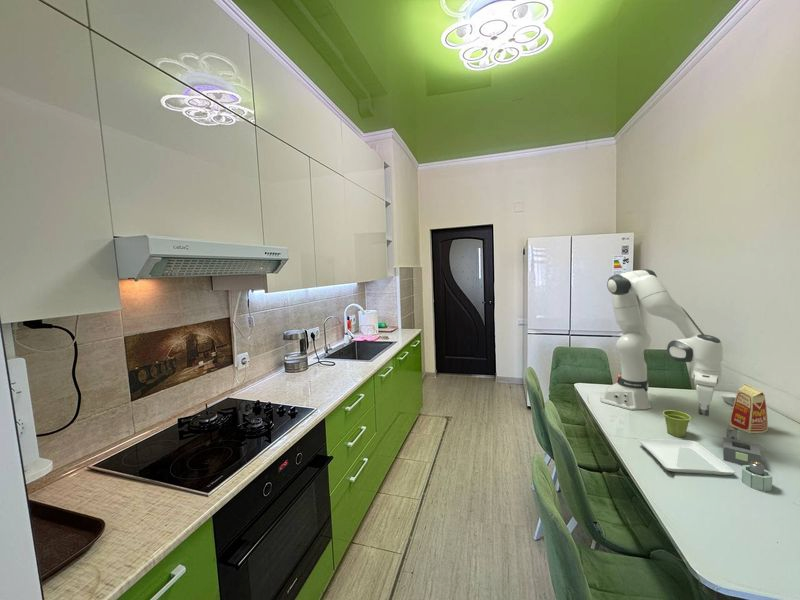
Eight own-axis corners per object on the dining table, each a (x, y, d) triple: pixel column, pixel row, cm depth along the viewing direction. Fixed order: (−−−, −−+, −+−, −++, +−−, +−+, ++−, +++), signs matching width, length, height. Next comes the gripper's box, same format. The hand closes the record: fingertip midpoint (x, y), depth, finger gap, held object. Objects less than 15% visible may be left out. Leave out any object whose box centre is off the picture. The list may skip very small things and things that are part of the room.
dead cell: (749, 484, 107) (750, 463, 106) (748, 479, 109) (749, 458, 109) (764, 488, 105) (764, 466, 104) (763, 483, 107) (763, 462, 106)
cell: (698, 414, 134) (699, 397, 133) (698, 411, 136) (699, 394, 135) (708, 417, 131) (709, 399, 130) (708, 414, 134) (710, 396, 133)
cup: (742, 487, 107) (742, 472, 107) (741, 477, 112) (741, 462, 111) (772, 496, 102) (773, 480, 102) (770, 485, 107) (770, 470, 107)
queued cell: (726, 446, 130) (726, 428, 129) (726, 443, 132) (726, 425, 131) (737, 449, 128) (738, 431, 127) (737, 446, 130) (737, 428, 129)
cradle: (723, 462, 120) (723, 447, 120) (723, 451, 127) (723, 436, 127) (760, 472, 114) (760, 456, 113) (757, 459, 121) (758, 444, 120)
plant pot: (686, 430, 144) (686, 411, 143) (694, 440, 135) (694, 421, 135) (659, 427, 148) (659, 409, 147) (666, 437, 139) (666, 418, 139)
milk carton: (728, 424, 146) (729, 381, 144) (747, 422, 147) (748, 379, 145) (752, 434, 137) (753, 389, 135) (771, 432, 138) (773, 387, 136)
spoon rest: (718, 398, 173) (718, 385, 173) (750, 402, 166) (750, 388, 166) (728, 415, 154) (728, 401, 154) (764, 421, 147) (764, 406, 147)
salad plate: (694, 447, 131) (694, 439, 131) (737, 481, 111) (737, 471, 110) (636, 445, 136) (636, 437, 136) (666, 477, 115) (666, 468, 115)
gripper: (696, 366, 141) (694, 396, 143) (694, 380, 127) (692, 413, 128) (716, 369, 137) (714, 400, 138) (716, 384, 122) (714, 418, 124)
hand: (703, 407), depth 133 cm, fingers closed on cell, 3 cm apart
